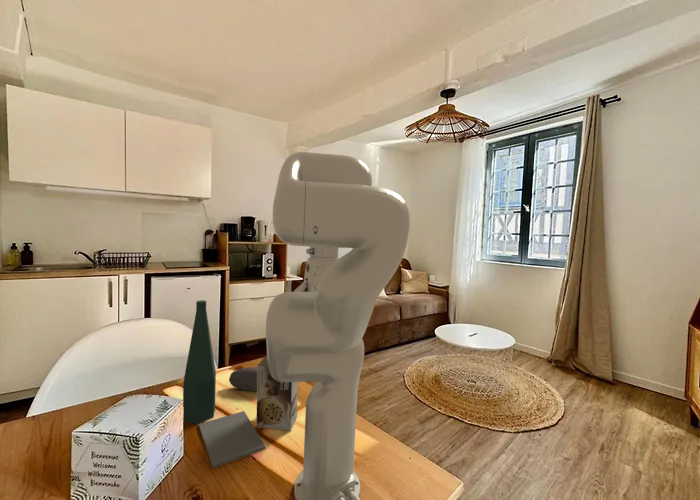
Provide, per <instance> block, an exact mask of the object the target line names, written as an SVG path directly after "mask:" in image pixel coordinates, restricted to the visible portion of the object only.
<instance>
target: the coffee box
mask: <svg viewBox="0 0 700 500" xmlns="http://www.w3.org/2000/svg"><path fill="white" fill-rule="evenodd" d="M256 367H257V392H256V421H255V422H256V423H255V428H259V429H261V428H262V429H269V428H270V429H271V430H273V429H274V430H281V431H292V429H293V427H294V424H295V423H296V421H297V419H298V393H299V390H298V389H299V388H298V387H299V382H292V380H291V382H279V381H276V380H275V379H273V377H272V376H271V374H270V371H269V368H268V360H267V354H266V355H265V356H264V357H263V358H262V359H261V361H260V362H259V363H258V364H257V365H256ZM270 429H269V430H270Z"/></svg>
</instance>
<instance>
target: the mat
mask: <svg viewBox="0 0 700 500" xmlns="http://www.w3.org/2000/svg"><path fill="white" fill-rule="evenodd" d="M198 428H199V431H200V433H201V434H200V435H201V436H202V440H203V442H204V445H205V448H206V451H207V454H208V458H209V460H210V462H211V467H212V468H213V469H216V468H217V467H221V466H224V465H226V464H229V463H231V462H234V461H237V460H240V459H242V458H245V457H247V456H251V455H253V454H255V453H258V452H261V451H263V450H266V447H267V446H266V444H265V442H263V440H262V437H260V435H259V433H258V431H257V430H256V427H255V426H254V425H253V423H252V422H251V420H250V418H249V417H248V415H247V413H246V412H245V411H244V410H243V411H240V412H235V413H232V414H230V415H226V416H222V417H218V418H215V419H210V420H207V421H204V422H202V423H199V424H198Z"/></svg>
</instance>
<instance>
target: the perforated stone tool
mask: <svg viewBox="0 0 700 500" xmlns="http://www.w3.org/2000/svg"><path fill="white" fill-rule="evenodd" d="M228 379H229V384H230V385H231V386H232V387H234V388H236V389H238V390H246V391H249V392H256V393H257V366H253V367H252V366H251V367H245V368H244V367H243V368H239V369H236V370H235V371H232V372H231V373H230V376H229V378H228Z"/></svg>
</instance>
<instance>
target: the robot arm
mask: <svg viewBox="0 0 700 500" xmlns="http://www.w3.org/2000/svg"><path fill="white" fill-rule="evenodd" d="M372 184H373V179H372V173H371V170H370V169H369V166H367V164H366V163H364V161H361V160H360V159H359V158H357V157H353V156H351V155H344V154H343V155H342V154H330V153H322V152H321V153H318V152H310V151H309V152H307V151H298V152H294V153H292V154H290V155H289V156H288V157H287V158H285V161H283V165H282V166H281V169H280V171H279V175H278V180H277V185H276V188H275V195H274V199H273V205H272V225H273V229H274V232H275V234H276V236H277V237H278V239H279V240H280V241H281V242H283V243H284V244H287V245H289V246H295V247H309V248H306V249H305V253H306V254H307V255H309V257H308V258H307V260H306V265H305V270H304V277H303V282H302V283H301V284H300V285H299V286H298V287H295V288H296V289H294V290H293V291H285V292H282V293H279V294H278V295H276V296H275V297H274V298H273V299H272V301H271V302H270V304H269V307H268V309H267V313H266V319H265V320H266V321H265V342H266V355H267V360H268V368H269V371H270V374H271V376H272V377H273V379H275V380H276V381H279V382H291V380H292V382H298V383H306V382H310V383H311V382H315V384H313V385H314V386H312V388H311V390H310V392H309V394H308V395H307V398H306V401H305V402H306V403H305V414H304V416H305V418H304V419H305V420H304V444H303V447H304V448H303V468H302V470H301V471H300V472H299V474H298V475H297V476H296V478H295V481H294V486H293V487H294V489H293V490H294V491H293V493H294V494H293V495H294V500H362V499H361V498H360V497H361V487H362V486H361V481H360V478H359V476H358V474H357V473H356V472H355V471H354V466H355V465H354V464H355V463H354V462H355V461H354V460H355V446H356V445H355V444H356V443H355V440H356V422H357V404H358V402H357V401H358V394H359V393H358V391H359V384H360V377H361V373H362V369H363V364H364V357H365V343H364V339H363V337H364V335H365V333H366V330H367V329H368V325H369V323H370V320H371V317H372V315H373V312H374V309H375V305H376V302H377V300H378V298H379V297H380V295H381V293H382V292H383V290H384V289H385V288H386V287H387V285H388V284H389V282H390V281H391V279H392V278H393V276H395V275H394V274H395V273H396V272H397V270H398V268H399V266H400V265H401V263H402V260H403V257H404V255H405V252H406V250H407V249H406V248H407V244H408V240H409V234H410V233H409V232H410V223H411V221H410V220H411V219H410V212H409V211H410V210H409V207H408V204H407V202H406V201H405V199H404V198H403V197H402V196H401V195H399V194H398V193H396V192H394V191H393V190H389V189H388V188H382V187H379V186H378V187H377V186H372ZM339 248H341V249H343V248H344V249H345V248H346V249H351V250H349V252H346V253H345V254H344V255H343V256H341V257H339Z"/></svg>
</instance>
